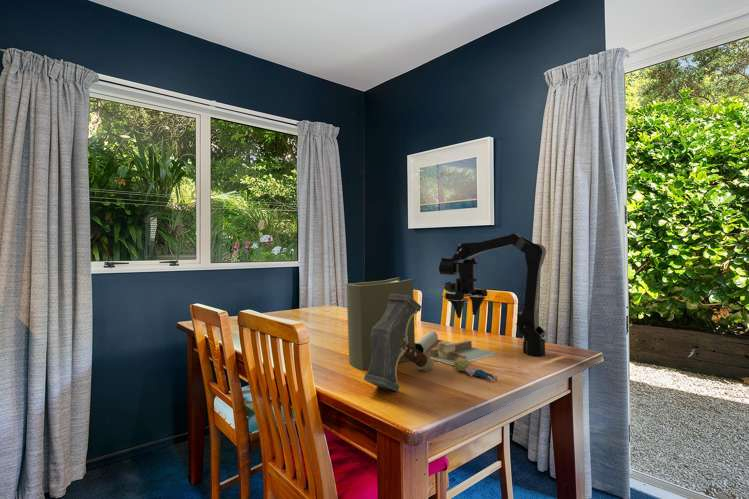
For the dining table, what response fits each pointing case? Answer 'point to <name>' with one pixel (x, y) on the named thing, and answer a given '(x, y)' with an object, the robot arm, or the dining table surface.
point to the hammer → (394, 343)
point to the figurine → (471, 369)
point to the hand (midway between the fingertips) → (466, 316)
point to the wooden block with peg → (448, 350)
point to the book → (371, 315)
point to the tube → (427, 341)
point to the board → (463, 353)
